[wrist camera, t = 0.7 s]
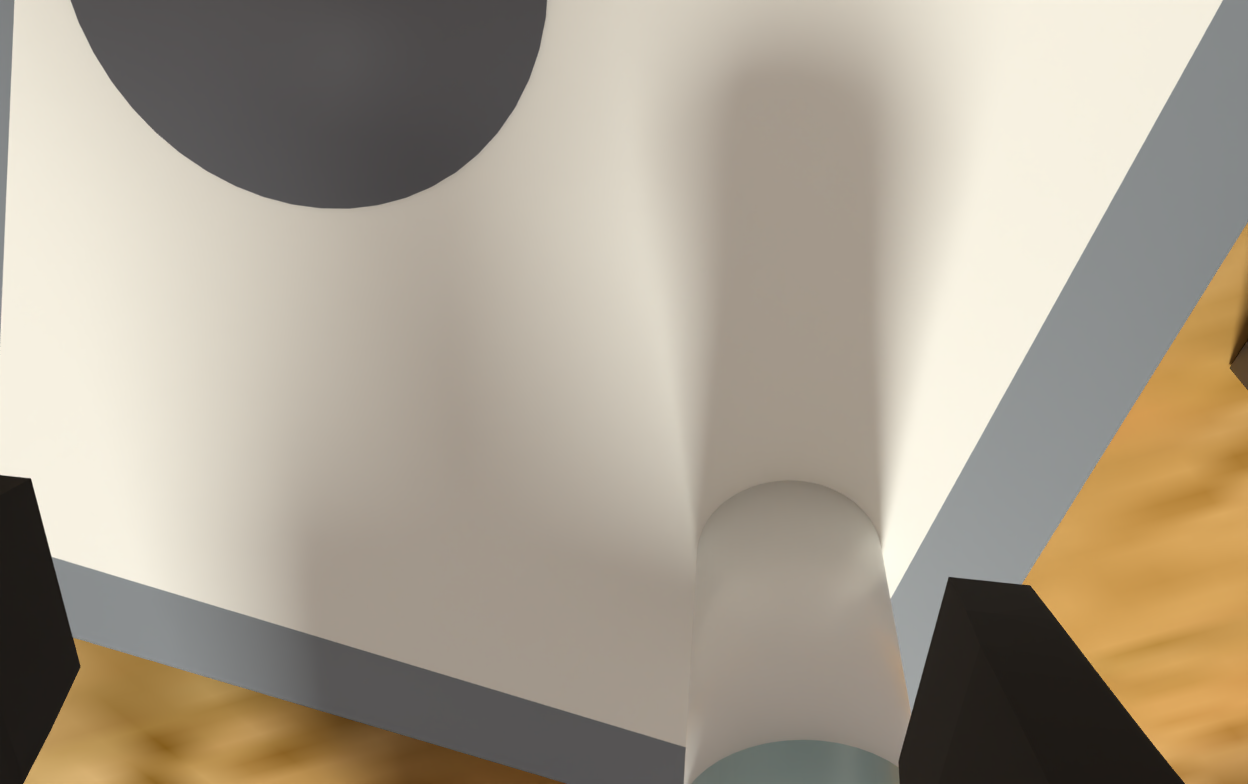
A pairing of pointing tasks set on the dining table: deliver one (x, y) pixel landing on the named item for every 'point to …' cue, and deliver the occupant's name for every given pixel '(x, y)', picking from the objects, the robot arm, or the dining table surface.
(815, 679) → the small white bottle
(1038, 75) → the white mounting plate
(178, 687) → the dining table surface
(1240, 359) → the button housing
